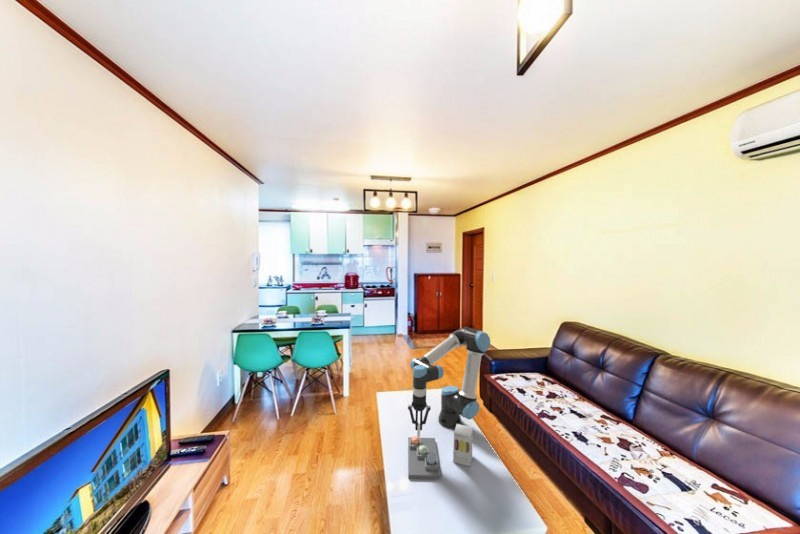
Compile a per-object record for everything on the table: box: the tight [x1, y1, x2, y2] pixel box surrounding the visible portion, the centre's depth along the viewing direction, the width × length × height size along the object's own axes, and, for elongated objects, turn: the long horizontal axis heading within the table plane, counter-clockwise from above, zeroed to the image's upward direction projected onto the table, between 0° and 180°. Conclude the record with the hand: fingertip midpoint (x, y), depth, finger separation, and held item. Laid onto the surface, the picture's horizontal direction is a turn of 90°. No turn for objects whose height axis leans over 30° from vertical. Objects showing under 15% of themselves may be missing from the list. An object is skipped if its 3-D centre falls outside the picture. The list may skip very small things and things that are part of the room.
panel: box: [407, 436, 441, 480], centre depth 163 cm, size 16×30×4 cm, turn 179°
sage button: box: [419, 445, 427, 455], centre depth 163 cm, size 4×4×4 cm
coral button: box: [411, 435, 420, 445], centre depth 171 cm, size 4×4×4 cm
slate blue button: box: [427, 453, 436, 465], centre depth 154 cm, size 4×4×4 cm
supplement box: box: [452, 424, 474, 467], centre depth 162 cm, size 10×9×17 cm
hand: (418, 435), depth 166 cm, fingers closed
